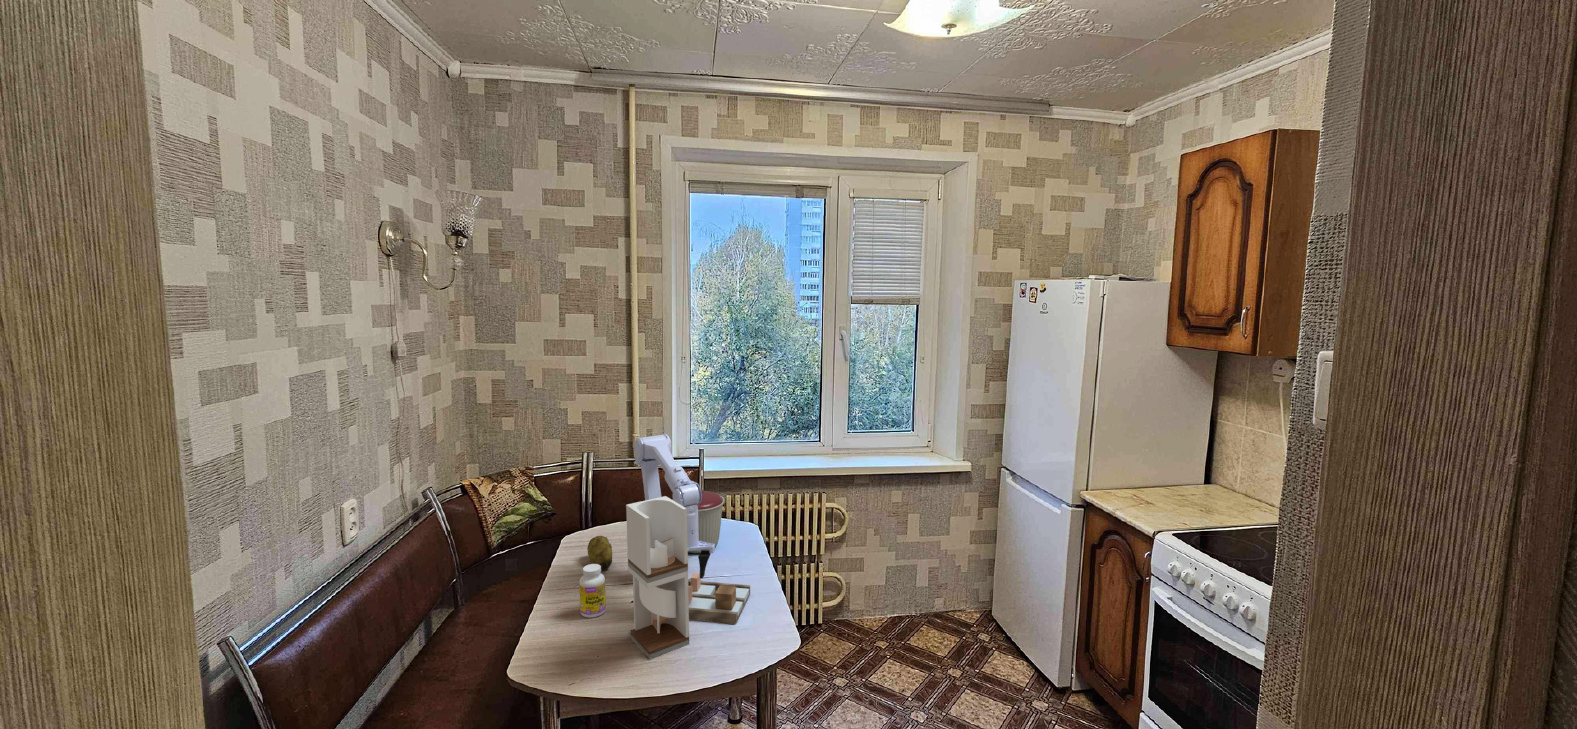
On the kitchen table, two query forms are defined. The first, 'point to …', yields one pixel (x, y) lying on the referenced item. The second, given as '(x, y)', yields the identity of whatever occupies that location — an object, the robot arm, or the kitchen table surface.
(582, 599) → the supplement bottle
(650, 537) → the white tiered stand
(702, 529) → the canister
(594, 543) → the potato
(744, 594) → the broken strip
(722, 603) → the walnut block
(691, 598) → the strip front
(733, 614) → the lane board
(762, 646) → the kitchen table surface
